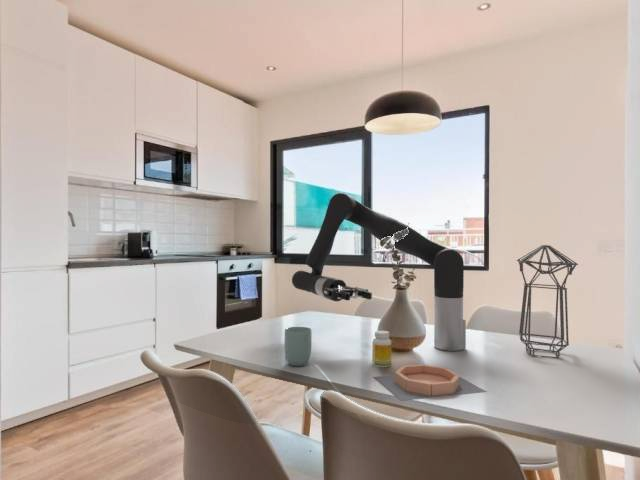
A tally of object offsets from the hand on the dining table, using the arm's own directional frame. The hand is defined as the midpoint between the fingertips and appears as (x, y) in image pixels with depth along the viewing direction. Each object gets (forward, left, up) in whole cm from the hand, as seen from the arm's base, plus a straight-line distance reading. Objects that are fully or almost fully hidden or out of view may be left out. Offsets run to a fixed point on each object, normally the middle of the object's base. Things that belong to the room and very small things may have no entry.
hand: (360, 296), depth 124 cm
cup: (+20, +3, -19) cm, 28 cm away
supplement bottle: (-3, +10, -19) cm, 21 cm away
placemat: (-7, +28, -18) cm, 34 cm away
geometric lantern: (-59, +11, -19) cm, 63 cm away
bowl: (-7, +28, -18) cm, 34 cm away
